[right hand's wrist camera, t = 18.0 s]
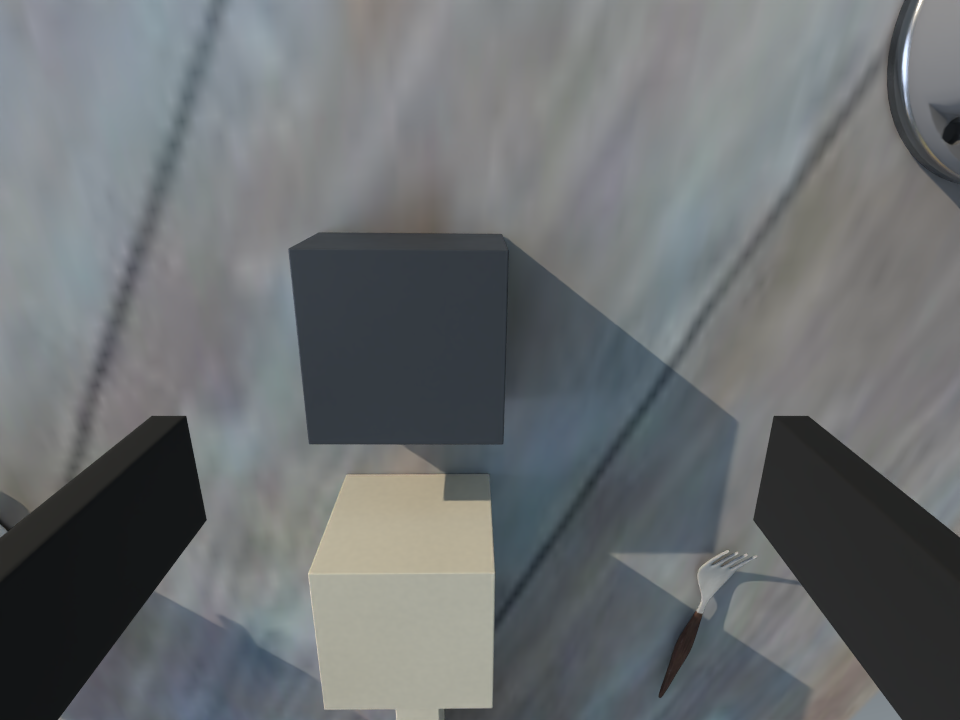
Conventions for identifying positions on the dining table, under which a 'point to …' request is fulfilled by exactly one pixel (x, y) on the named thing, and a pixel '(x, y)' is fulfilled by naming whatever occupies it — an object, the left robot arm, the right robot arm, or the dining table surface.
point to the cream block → (406, 595)
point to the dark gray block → (402, 337)
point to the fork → (701, 608)
